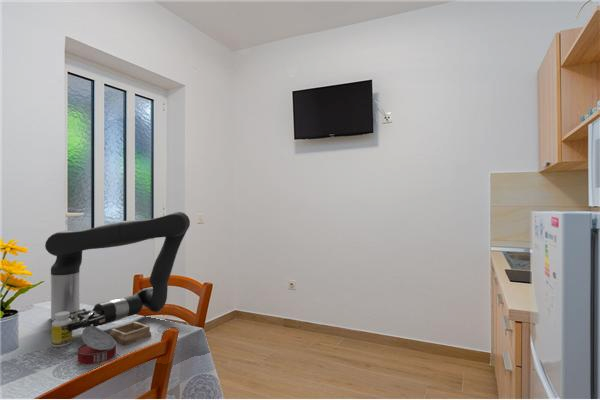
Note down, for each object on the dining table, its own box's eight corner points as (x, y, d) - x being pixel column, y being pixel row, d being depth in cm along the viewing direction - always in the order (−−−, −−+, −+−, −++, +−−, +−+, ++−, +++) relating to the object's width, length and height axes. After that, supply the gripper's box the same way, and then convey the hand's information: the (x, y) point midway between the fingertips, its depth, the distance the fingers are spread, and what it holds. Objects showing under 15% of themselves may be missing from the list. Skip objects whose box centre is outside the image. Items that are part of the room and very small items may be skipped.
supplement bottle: (61, 348, 110) (61, 316, 109) (47, 346, 111) (47, 315, 111) (76, 341, 115) (76, 311, 115) (62, 339, 116) (62, 309, 116)
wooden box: (109, 338, 117) (109, 329, 117) (135, 329, 125) (135, 320, 125) (125, 345, 112) (125, 335, 112) (151, 335, 120) (151, 326, 120)
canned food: (101, 364, 109) (115, 330, 114) (115, 371, 103) (129, 335, 107) (63, 358, 102) (79, 322, 106) (76, 365, 96) (93, 327, 100)
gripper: (100, 297, 130) (50, 309, 116) (123, 304, 122) (72, 317, 109) (100, 317, 130) (50, 332, 116) (123, 325, 122) (72, 342, 109)
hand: (61, 325), depth 112 cm, fingers open, 8 cm apart
